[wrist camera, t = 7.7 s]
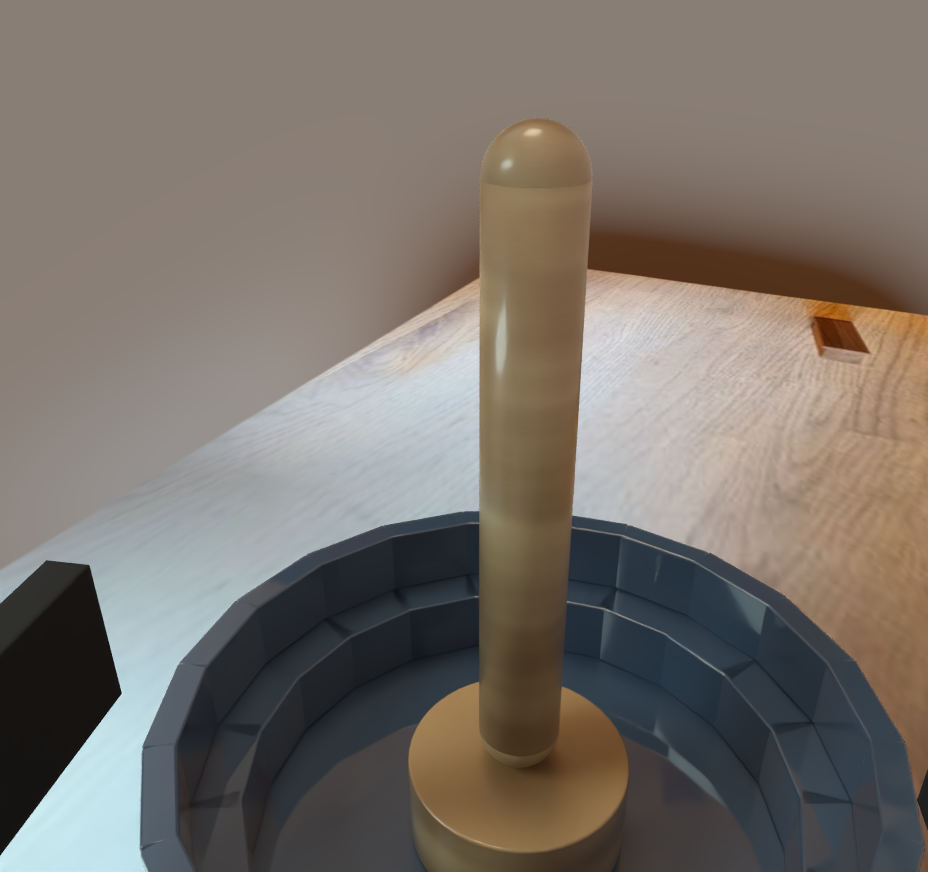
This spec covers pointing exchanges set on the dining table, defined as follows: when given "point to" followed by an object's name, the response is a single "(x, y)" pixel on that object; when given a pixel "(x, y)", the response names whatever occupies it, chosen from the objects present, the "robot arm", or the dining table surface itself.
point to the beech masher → (524, 550)
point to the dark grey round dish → (584, 671)
